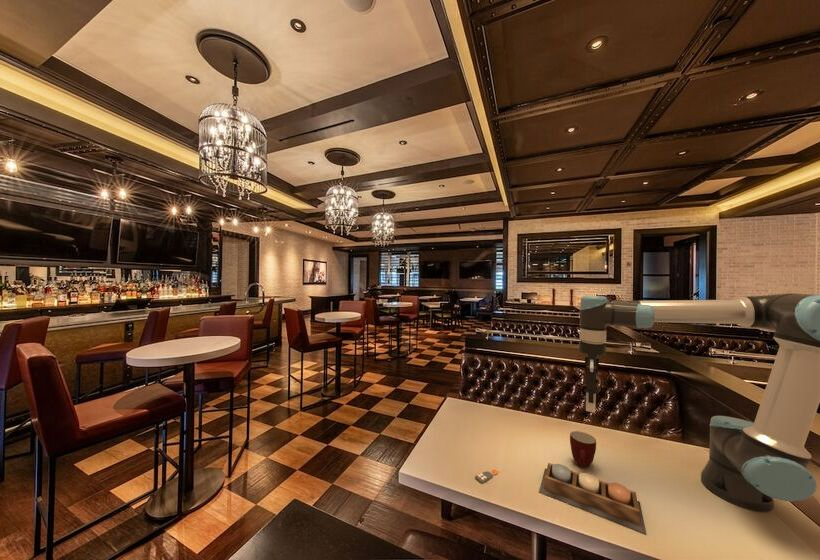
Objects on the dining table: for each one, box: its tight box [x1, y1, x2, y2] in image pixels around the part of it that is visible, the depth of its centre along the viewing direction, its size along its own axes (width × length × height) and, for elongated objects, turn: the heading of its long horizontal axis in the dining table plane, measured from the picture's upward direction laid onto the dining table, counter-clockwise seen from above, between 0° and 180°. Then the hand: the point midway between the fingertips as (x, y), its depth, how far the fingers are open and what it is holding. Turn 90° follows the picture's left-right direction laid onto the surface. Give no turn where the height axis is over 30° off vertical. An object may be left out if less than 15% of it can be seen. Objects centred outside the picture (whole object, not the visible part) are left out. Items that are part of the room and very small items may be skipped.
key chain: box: [474, 469, 503, 485], centre depth 96 cm, size 13×4×2 cm, turn 123°
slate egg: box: [552, 463, 571, 484], centre depth 91 cm, size 5×5×3 cm
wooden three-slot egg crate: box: [538, 462, 647, 536], centre depth 87 cm, size 26×13×4 cm, turn 57°
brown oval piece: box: [608, 482, 630, 506], centre depth 83 cm, size 5×5×3 cm
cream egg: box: [579, 472, 600, 494], centre depth 87 cm, size 5×5×3 cm
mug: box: [569, 430, 597, 469], centre depth 101 cm, size 10×8×10 cm
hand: (590, 410), depth 96 cm, fingers closed
